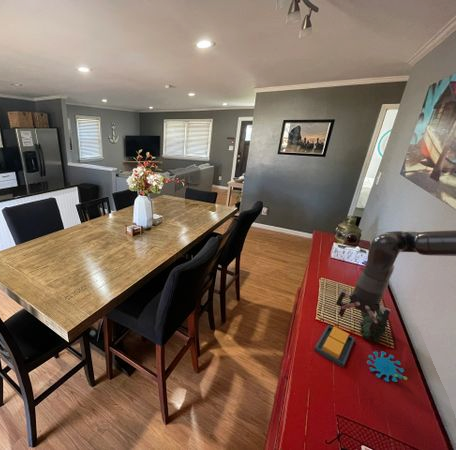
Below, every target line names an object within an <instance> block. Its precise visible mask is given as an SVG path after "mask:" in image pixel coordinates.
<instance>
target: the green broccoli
mask: <svg viewBox="0 0 456 450" xmlns="http://www.w3.org/2000/svg"><path fill="white" fill-rule="evenodd" d="M376 313H377V316H378V318H380V319H382V317H383V315H384V314H382V313H381V310H380V309H379V310H376ZM360 315H361V317H362V318H363V319H362V321H360V322H359V325H360V327H361V328H360V329H359V332H360V335H361V338H362V339H370V340H372V342H373V343H374V344H379V343H380V341H381V340H380V339H381V338H382V337H384V332H386V331H387V329H386V327H388V321H389V318H388V319H387V322H386V324H385V325H382V324H377V325H376V328H375V330H371V331H370V330H369V327H370V325H371V322H372V318H371V317H370V315H369V313H365V312H363V311H361V310H360ZM362 333H363V334H362Z"/></svg>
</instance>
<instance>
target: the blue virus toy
mask: <svg viewBox="0 0 456 450" xmlns="http://www.w3.org/2000/svg"><path fill="white" fill-rule="evenodd" d="M372 353H373V355H374V356H373V355H372V354H369V355H368V356H367V357H368V358H369V359H370V360H367V361H366V364H367V365H371V367H369V371H370V372H375V371H377V372H379V373H375V376H376V378H378V379H380V378H381V377H382V376H383V375H385V377H383V381H385V382H390V379H389V377H390V376H391V377H392V378H391V381H392V382H393V383H394V382H395V383H396V382H398V380H406V381H407V380H408V377H407V376H405V375H402V374H401V373H404V371H405V369H404V368H402V367H398V366H400V365H401V360H395V361H393V359H395V356H394V355H393V354H389V355H388V357H384V356H385V355H387V352H385V351H383V350H381V351H380V357H379V356H378V355H379V352H378V351H373V352H372ZM374 357H375V359H374ZM390 359H392V360H390ZM371 360H372V361H373V362H372V361H371ZM395 364H396V365H397V366H396V365H395ZM372 366H373V367H375V368H373V367H372ZM397 370H398V371H399V372H400V373H399V372H398V371H397Z"/></svg>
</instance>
